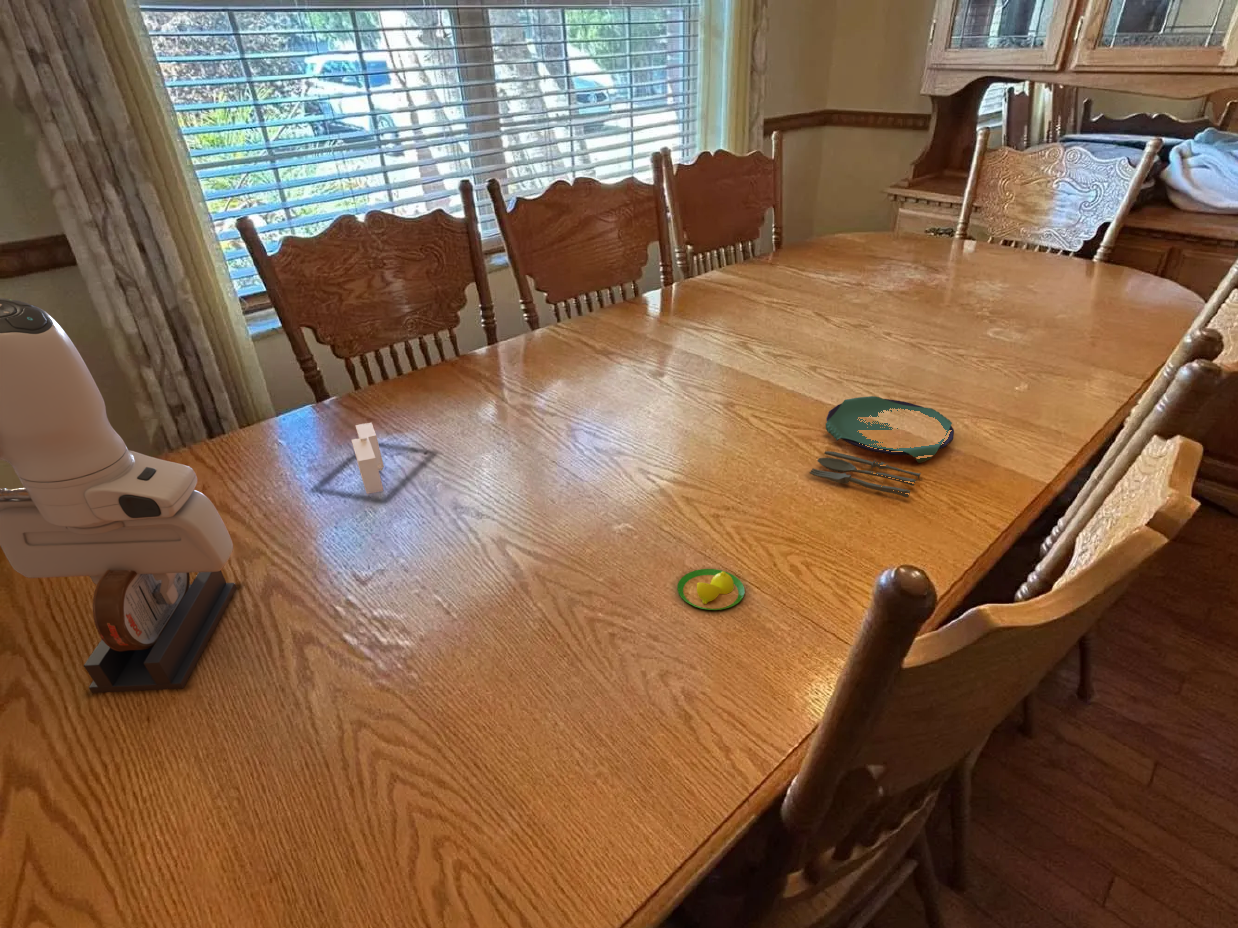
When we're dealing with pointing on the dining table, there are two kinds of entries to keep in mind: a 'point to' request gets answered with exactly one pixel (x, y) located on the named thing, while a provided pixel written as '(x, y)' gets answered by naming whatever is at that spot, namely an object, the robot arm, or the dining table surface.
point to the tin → (132, 609)
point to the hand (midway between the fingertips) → (150, 601)
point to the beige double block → (368, 457)
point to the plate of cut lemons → (712, 586)
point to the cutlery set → (846, 427)
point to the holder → (166, 643)
